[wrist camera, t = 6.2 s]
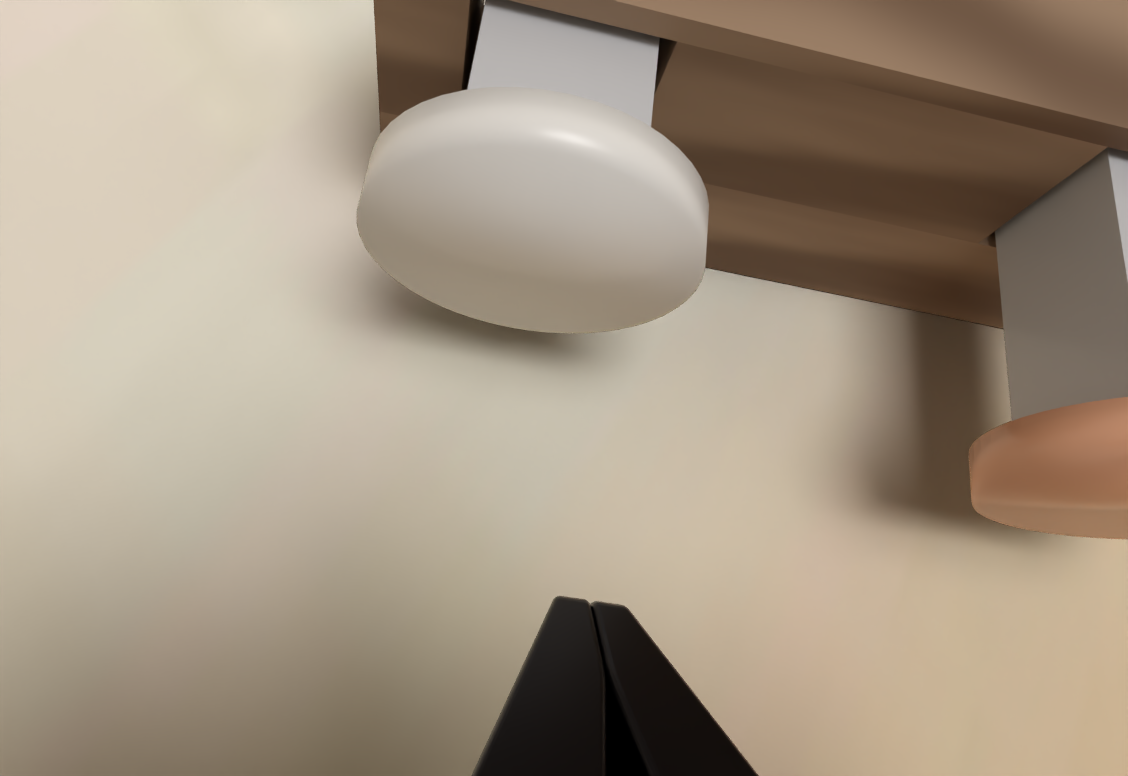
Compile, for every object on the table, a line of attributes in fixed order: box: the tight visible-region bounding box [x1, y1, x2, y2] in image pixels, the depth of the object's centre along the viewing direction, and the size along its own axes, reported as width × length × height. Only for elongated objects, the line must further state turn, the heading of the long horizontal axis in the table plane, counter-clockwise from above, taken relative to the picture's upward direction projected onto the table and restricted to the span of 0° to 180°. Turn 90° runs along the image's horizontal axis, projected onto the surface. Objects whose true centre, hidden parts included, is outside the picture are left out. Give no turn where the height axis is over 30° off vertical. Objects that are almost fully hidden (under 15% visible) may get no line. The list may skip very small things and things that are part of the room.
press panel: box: [374, 0, 1128, 329], centre depth 21 cm, size 4×22×9 cm, turn 83°
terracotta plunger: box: [968, 147, 1128, 539], centre depth 18 cm, size 9×7×7 cm
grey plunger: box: [357, 0, 709, 333], centre depth 18 cm, size 9×7×7 cm
